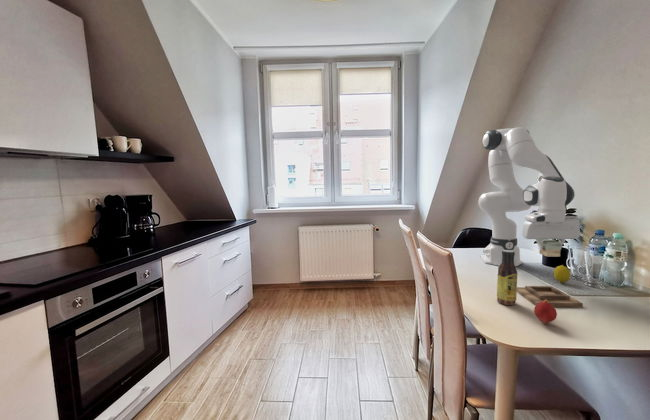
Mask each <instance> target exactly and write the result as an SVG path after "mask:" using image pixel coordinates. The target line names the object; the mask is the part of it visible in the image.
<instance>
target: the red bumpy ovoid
mask: <svg viewBox="0 0 650 420" xmlns="http://www.w3.org/2000/svg"><path fill="white" fill-rule="evenodd" d="M533 313H534V315H535V318H537V319H538V320H539V321H540V322H541V323H542V324H545V325H546V324H547V325H548V324H549V323H551V322H553V321H555V320H556V319H557V316H558V312H557V310H556V307H553V306H552V305H551V304H550V303H548V300H544V301H542V302H540V303H538V304H537V305H536V306H535V305H534V308H533Z"/></svg>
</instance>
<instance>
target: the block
mask: <svg viewBox="0 0 650 420" xmlns="http://www.w3.org/2000/svg"><path fill="white" fill-rule="evenodd" d="M541 243H542V245H545V247H544V248H545V249H542V250H541V249H539V254H540V255H542V256H545V257H549V258H550V257H553V258H554V257H556V258H557V257H561V250H562V249H561V242H559V240H557V239H542V242H541Z"/></svg>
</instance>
